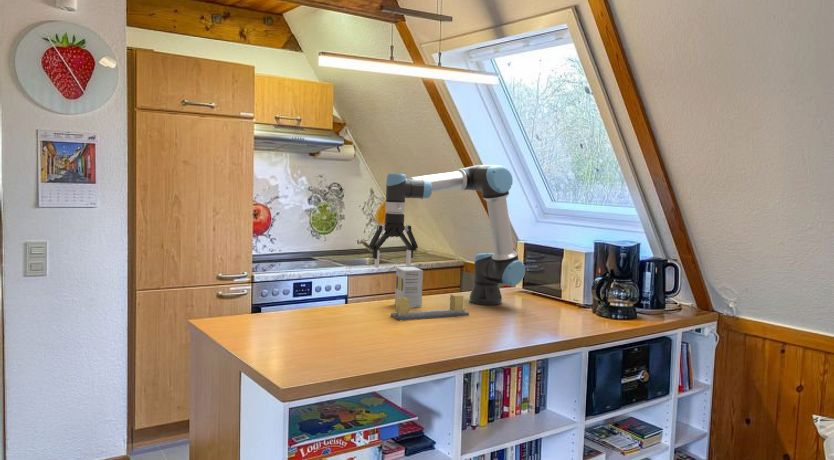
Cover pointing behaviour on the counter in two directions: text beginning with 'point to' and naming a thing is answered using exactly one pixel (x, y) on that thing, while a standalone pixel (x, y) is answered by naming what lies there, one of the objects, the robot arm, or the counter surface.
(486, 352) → the counter surface
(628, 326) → the counter surface
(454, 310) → the board
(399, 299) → the block
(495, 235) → the robot arm
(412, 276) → the supplement box
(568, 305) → the counter surface
